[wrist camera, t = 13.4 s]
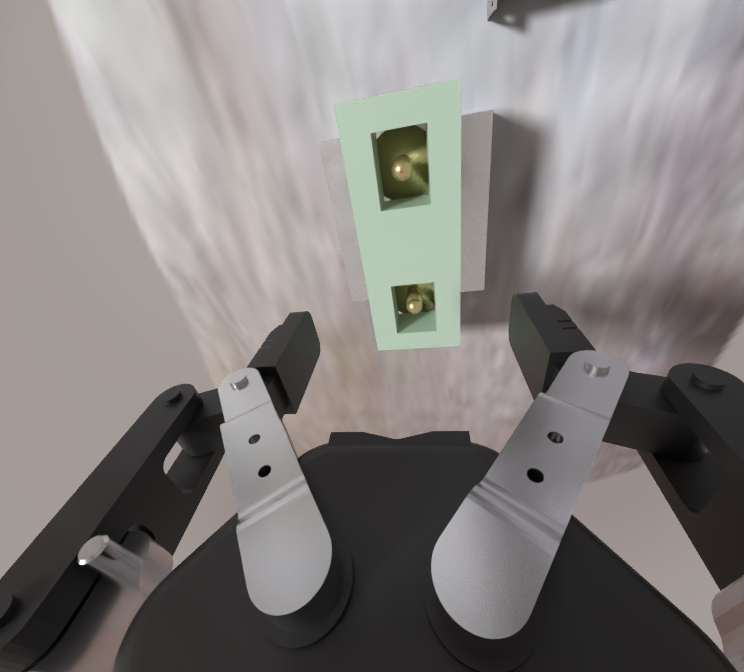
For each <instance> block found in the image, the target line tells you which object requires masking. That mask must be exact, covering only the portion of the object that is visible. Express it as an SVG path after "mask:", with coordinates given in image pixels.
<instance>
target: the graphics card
mask: <svg viewBox="0 0 744 672" xmlns="http://www.w3.org/2000/svg"><path fill="white" fill-rule="evenodd" d="M492 2H493V6H492ZM491 6H492V7H491ZM495 9H497V0H488V1H487V21H488V18H489V17H490V16H491V15H492V14H493V13H494V11H495Z"/></svg>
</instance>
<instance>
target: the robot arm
mask: <svg viewBox="0 0 744 672" xmlns="http://www.w3.org/2000/svg"><path fill="white" fill-rule="evenodd" d="M509 341H510V345H511V348H512V350H513V352H514V355H515V357H516V359H517V362H518V364H519V366H520V369H521V371H522V373H523V376H524V378H525V380H526V383H527V385H528V387H529V390H530V392H531V394H532V397H533V399H534V402H533V403H532V405H531V406H530V408H529V409H528V411H527V413H526V414H525V416H524V417H523V419H522V420H521V422H520V423H519V425H518V426H517V428H516V429H515V431H514V433H513V434H512V436H511V437H510V439H509V440H508V442H507V443H506V445H505V446H504V448H503V449H502V451H501V452H500V453H498V452H496V451H495V450H492V449H490V448H488V447H485V446H482V445H479V444H476V443H472V442H471V441H470V435H469V431H432V432H428V433H424V434H419V435H415V436H411V437H406V438H402V439H391V438H387V437H383V436H378V435H374V434H369V433H365V432H331V435H330V439H329V443H327V444H324V445H321V446H318V447H316V448H314V449H311V450H309V451H308V452H306V453H304V454H303V455H301V456H300V457H299V456H298V454H297V452H296V450H295V447H294V445H293V443H292V441H291V439H290V436H289V434H288V432H287V430H286V428H285V425H284V423H283V421H282V418H283V416H284V414H296V413H297V410H298V408H299V405H300V403H301V400H302V398H303V395H304V393H305V390H306V388H307V385H308V383H309V380H310V378H311V375H312V373H313V370H314V368H315V365H316V363H317V360H318V358H319V355H320V342H319V339H318V335H317V332H316V329H315V326H314V323H313V320H312V316H311V314H310V313H309V312H308V311H305V312H294V313H290V314H289V315H288V317H287V318H286V320H285V321H284V323H283V325H279V326H278V327H277V328H275V329H274V330H273V331H272V332H270V334H269V335H268V337H267V338H266V340H265V342H264V343H263V344H262V346H261V348H260V349H259V350H258V352H257V353H256V355H255V356H254V358H253V359H252V361H251V362H250V364H249V365H248V367H247V368H243V369H239V370H236V371H234V372H232V373H230V374H229V375H227V376H226V377H225V378H224V379H223V380H222V381H221V382H220V384H219V386H218V388H217V389H214V390H210V391H206V392H203V393H199V394H198V392H197V391H196V389H195V388H194V386H193V385H191V384H181V385H177V386H174V387H172V388H170V389H168V390H166V391H164V392H163V393H162V394H160V395H159V396H158V397H157V398H156V399H155V400H154V401H153V402H152V403H151V404H150V406H149V407H148V408H147V409H146V410H145V411H144V413H143V414H142V415H141V416H140V417H139V418H138V419H137V421H136V422H135V423H134V424H133V425H132V426H131V428H130V429H129V430H128V431H127V433H125V435H124V436H123V437H122V438H121V439H120V441H119V442H118V443H117V444H116V445H115V446H114V447H113V449H112V450H111V451H110V452H109V453H108V455H107V456H106V457H105V458H104V459H103V460H102V461H101V463H100V464H99V465H98V466H97V467H96V468H95V470H94V471H93V472H92V473H91V474H90V475H89V477H88V478H87V479H86V480H85V481H84V482H83V484H82V485H81V486H80V487H79V488H78V489H77V491H76V492H75V493H74V494H73V495H72V497H71V498H70V499H69V500H68V501H67V502H66V504H65V505H64V506H63V507H62V508H61V509H60V510H59V512H58V513H57V514H56V515H55V516H54V518H53V519H52V520H51V521H50V522H49V523H48V525H47V526H46V527H45V528H44V529H43V531H42V532H41V533H40V534H39V535H38V536H37V537H36V538H35V540H34V541H33V542H32V543H31V544H30V545H29V547H28V548H27V549H26V550H25V551H24V552H23V554H22V555H21V556H20V557H19V558H18V559H17V561H16V562H15V563H14V564H13V565H12V567H11V568H10V569H9V570H8V571H7V572H6V573H5V575H4V576H3V577H2V578H1V579H0V672H744V383H743V382H742V381H741V380H740V379H738V378H737V377H735V376H733V375H732V374H730V373H728V372H725V371H723V370H720V369H717V368H714V367H711V366H707V365H702V364H692V363H686V364H678V365H676V366H674V367H672V368H671V369H670V370H669V372H668V374H667V376H666V377H663V376H656V375H649V374H642V373H636V372H631V371H629V369H628V367H627V366H626V364H625V363H624V362H623V361H621V360H620V359H618V358H617V357H615V356H613V355H610V354H607V353H604V352H600V351H596V350H595V349H594V347H593V346H592V345H591V343H590V342H589V341H588V340H587V338H586V337H585V336H584V335H583V333H582V332H581V331H580V330H579V329H577V326H576V324H575V323H574V322H572V319H571V318H570V317H569V316H568V314H567V313H566V312H565V311H564V310H562V309H560V308H558V307H557V306H555V305H553V304H551V305H546V304H545V303H544V302H543V300H542V299H541V297H540V296H539V295H538V293H536V292H534V293H523V294H514V295H513V298H512V305H511V314H510V323H509ZM176 441H177V442H178V444H179V445H180V446H181V447H182V448H183V449H182V451H181V452H180V454H179V456H178V457H177V459H176V460H175V462H174V463H173V465H172V466H171V468H170V470H169V471H168V473H167V474H165V473H164V470H163V464H164V460H165V458H166V456H167V454H168V453H169V452H170V450H171V448H172V447H173V446H174V444H175V443H176ZM602 441H603V442H607V443H611V444H615V445H620V446H624V447H628V448H632V449H637V451H638V453H639V455H640V456H641V458H642V460H643V461H644V463H645V465H646V466H647V468H648V470H649V471H650V473H651V475H652V476H653V478H654V480H655V481H656V483H657V485H658V486H659V488H660V490H661V491H662V493H663V495H664V496H665V498H666V500H667V501H668V503H669V505H670V507H671V508H672V510H673V511H674V513H675V515H676V517H677V518H678V520H679V521H680V523H681V525H682V527H683V528H684V530H685V532H686V533H687V535H688V537H689V539H690V540H691V542H692V544H693V545H694V547H695V548H696V550H697V552H698V554H699V555H700V557H701V559H702V560H703V562H704V564H705V565H706V567H707V569H708V570H709V572H710V574H711V575H712V577H713V579H714V581H715V582H716V584H717V585H718V587H719V589H720V592H719V593H717V594H716V595H715V597H714V599H713V601H712V614H713V619H714V622H715V624H716V626H717V629H718V631H719V634H720V636H721V639H722V643H723V650H724V653H723V652H722V651H721V650H720V649H719V648H718V646H716V644H715V643H714V642H713V641H712V640H711V639H710V638H709V637H708V636H707V635H706V634H705V633H704V632H703V631H702V630H701V629H700V628H699V627H698V626H697V625H696V624H695V623H694V622H693V621H692V620H691V619H689V618H688V617H687V616H686V615H685V614H684V613H682V612H681V610H679V609H678V608H677V607H676V606H675V605H674V604H672V603H671V602H670V601H669V600H668V599H667V598H666V597H665V596H664V595H662V594H661V593H660V592H659V591H658V590H657V589H656V588H654V587H653V586H652V585H651V584H650V583H649V582H648V581H647V580H645V579H644V578H643V577H642V576H640V574H639V573H638V572H636V571H635V570H634V569H633V568H632V567H631V566H630V565H628V564H627V563H626V562H625V561H624V560H623V559H622V558H621V557H619V556H618V555H617V554H616V553H615V552H613V550H612V549H610V548H609V547H608V546H607V545H606V544H605V543H604V542H602V541H601V540H600V539H599V538H598V537H597V536H596V535H594V534H593V533H592V532H591V531H590V530H589V529H588V528H586V526H584V525H583V524H582V523H581V522H580V521H579V520H578V519H577V518H575V517H574V516H573V515H572V512H573V510H574V507H575V505H576V502H577V500H578V498H579V495H580V493H581V490H582V488H583V486H584V483H585V481H586V478H587V476H588V473H589V471H590V468H591V466H592V464H593V461H594V459H595V456H596V454H597V451H598V449H599V446H600V444H601V442H602ZM709 451H710V452H709ZM224 453H225V454H226V458H227V463H228V468H229V473H230V478H231V484H232V488H233V493H234V498H235V503H236V508H237V513H236V514H235V515H234V516H233V517H232V518H231V519H229V520H228V521H227V522H226V523H225V524H224V525H223V526H222V527H220V528H219V529H218V530H217V531H216V532H215V533H214V534H213V535H212V536H210V537H209V538H208V539H207V540H206V541H205V542H204V543H203V544H202V545H200V546H199V547H198V548H197V549H196V550H195V551H194V552H193V553H192V554H191V555H189V556H188V557H187V558H186V559H185V560H184V561H183V562H182V563H181V564H180V565H178V566H177V567H176V568H175V569H174V570H173V571H172V567H173V558H172V556H173V554H174V552H175V550H176V548H177V546H178V544H179V542H180V540H181V538H182V536H183V534H184V532H185V530H186V528H187V527H188V525H189V523H190V521H191V519H192V517H193V515H194V513H195V511H196V509H197V506H198V505H199V503H200V501H201V499H202V497H203V495H204V493H205V491H206V489H207V487H208V485H209V483H210V481H211V479H212V477H213V475H214V473H215V471H216V469H217V467H218V465H219V463H220V461H221V459H222V457H223V455H224ZM713 456H714V457H713ZM717 461H718V462H717Z"/></svg>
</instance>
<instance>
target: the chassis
mask: <svg viewBox="0 0 744 672" xmlns="http://www.w3.org/2000/svg"><path fill="white" fill-rule="evenodd" d="M492 127H493V110H489V111H484V112H479V113H473V114H468V115H463V116H461V287H460V292H468V291H480V290H484V283H485V264H486V244H487V225H488V205H489V186H490V166H491V146H492ZM376 136H377V144H378V152H379V160H380V168H381V176H382V184H383V192H384V200H385V201H389V200H395V199H402V198H409V197H416V196H423V195H429V186H428V165H427V145H426V124H425V123H422V124H417V125H411V126H406V127H401V128H395V129H390V130H385V131H380V132H376ZM318 144H319V149H320V153H321V158H322V163H323V167H324V172H325V176H326V181H327V186H328V190H329V195H330V200H331V204H332V209H333V213H334V218H335V223H336V227H337V232H338V236H339V241H340V246H341V250H342V255H343V260H344V264H345V269H346V273H347V278H348V283H349V287H350V292H351V296H352V301H353V302H356V301H367V300H369V297H368V292H367V286H366V281H365V275H364V270H363V264H362V259H361V253H360V248H359V242H358V237H357V231H356V226H355V220H354V215H353V209H352V204H351V198H350V193H349V187H348V182H347V176H346V171H345V165H344V160H343V154H342V149H341V143H340V139H336V140H331V141H325V142H321V143H318ZM395 289H396V297H397V305H398V310H399V311H400V312H402V313H412V314H417V313H419V312H428V311H430V310H431V309H432V308H434V288H433V282H432V283H421V284H411V285H400V286H395Z"/></svg>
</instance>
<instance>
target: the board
mask: <svg viewBox="0 0 744 672" xmlns="http://www.w3.org/2000/svg"><path fill="white" fill-rule="evenodd" d="M334 110H335V116H336V121H337V127H338V132H339V138H340V143H341V149H342V154H343V160H344V165H345V171H346V176H347V182H348V187H349V193H350V198H351V204H352V209H353V215H354V220H355V226H356V231H357V237H358V242H359V248H360V253H361V259H362V264H363V270H364V275H365V281H366V286H367V292H368V297H369V303H370V308H371V314H372V319H373V325H374V330H375V336H376V341H377V347H378V350H395V349H412V348H429V347H446V346H460V287H461V78H459V79H455V80H450V81H445V82H440V83H436V84H431V85H426V86H421V87H417V88H412V89H407V90H402V91H397V92H393V93H388V94H383V95H378V96H374V97H369V98H364V99H359V100H355V101H350V102H345V103H340V104H335V105H334ZM422 123H425V124H426V145H427V165H428V186H429V195H423V196H416V197H409V198H402V199H395V200H389V201H385V200H384V192H383V184H382V176H381V168H380V160H379V152H378V144H377V136H376V132H380V131H385V130H390V129H395V128H401V127H406V126H411V125H417V124H422ZM432 282H433V288H434V308H435V311H428V312H419V313H417V314H412V313H403V314H399V313H398V305H397V297H396V289H395V286H400V285H411V284H421V283H432Z"/></svg>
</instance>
